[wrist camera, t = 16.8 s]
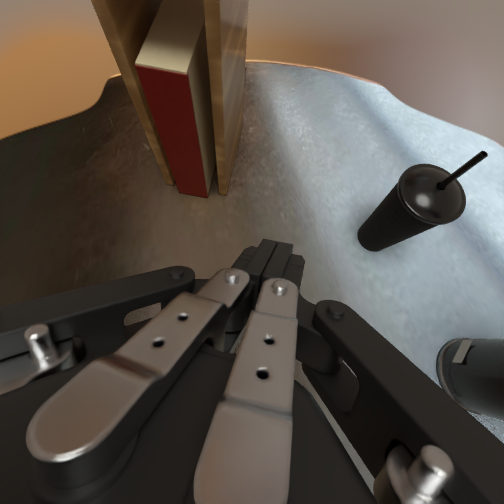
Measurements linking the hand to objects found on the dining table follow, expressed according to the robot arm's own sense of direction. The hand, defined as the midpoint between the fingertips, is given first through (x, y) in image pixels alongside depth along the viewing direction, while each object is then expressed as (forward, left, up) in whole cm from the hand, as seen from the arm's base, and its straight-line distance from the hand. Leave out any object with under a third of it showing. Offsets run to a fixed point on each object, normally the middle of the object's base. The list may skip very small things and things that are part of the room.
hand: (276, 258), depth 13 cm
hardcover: (+5, -26, -25) cm, 37 cm away
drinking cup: (-21, -10, -26) cm, 35 cm away
